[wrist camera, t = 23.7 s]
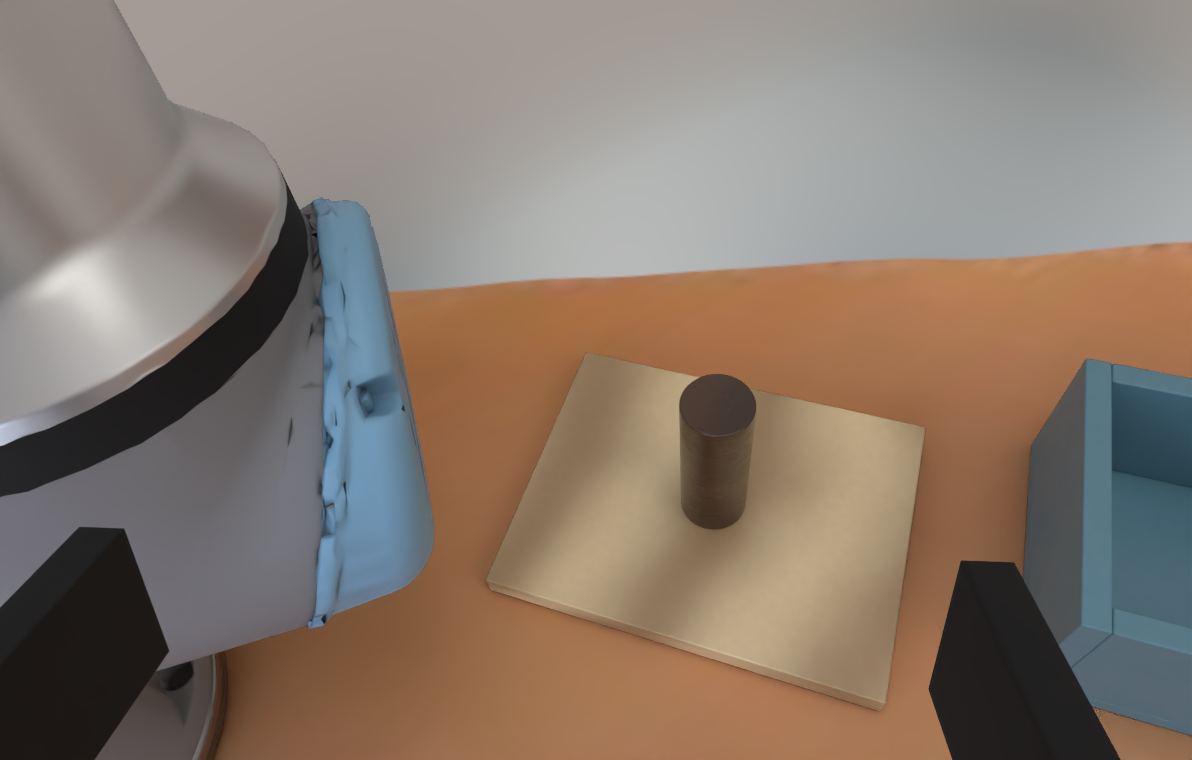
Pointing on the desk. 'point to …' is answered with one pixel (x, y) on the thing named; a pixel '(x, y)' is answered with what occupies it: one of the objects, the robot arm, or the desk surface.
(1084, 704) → the robot arm
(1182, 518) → the toy box
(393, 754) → the desk surface
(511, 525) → the tan piece
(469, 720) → the desk surface
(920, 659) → the desk surface
